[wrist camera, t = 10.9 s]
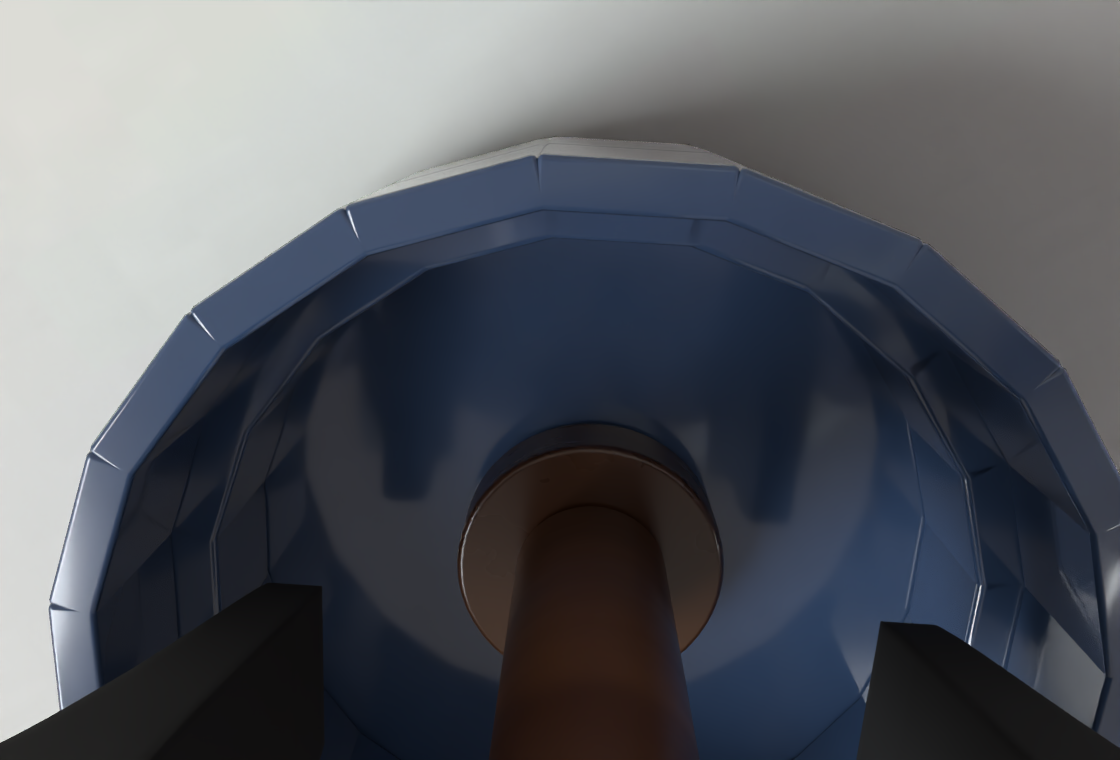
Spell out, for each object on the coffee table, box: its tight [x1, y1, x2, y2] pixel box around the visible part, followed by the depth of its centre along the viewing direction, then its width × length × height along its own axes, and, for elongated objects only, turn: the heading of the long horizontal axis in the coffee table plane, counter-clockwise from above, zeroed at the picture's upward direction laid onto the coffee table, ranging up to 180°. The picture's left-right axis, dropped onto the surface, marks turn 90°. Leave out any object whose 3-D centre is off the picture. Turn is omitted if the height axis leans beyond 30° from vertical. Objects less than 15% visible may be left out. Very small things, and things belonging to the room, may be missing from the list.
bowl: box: [49, 136, 1120, 760], centre depth 12 cm, size 11×11×4 cm
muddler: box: [457, 424, 724, 760], centre depth 9 cm, size 4×4×9 cm
